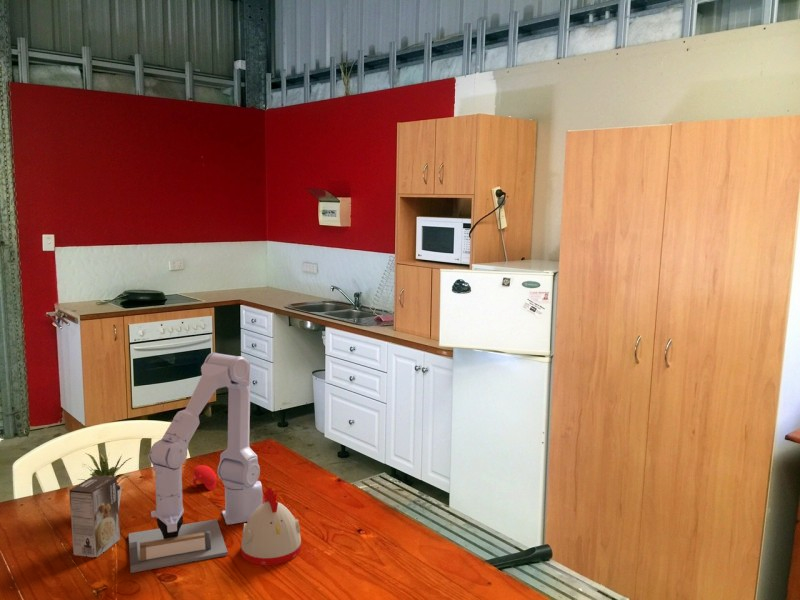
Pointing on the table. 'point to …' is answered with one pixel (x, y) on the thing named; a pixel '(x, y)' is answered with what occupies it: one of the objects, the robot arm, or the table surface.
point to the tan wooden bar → (172, 546)
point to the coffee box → (94, 515)
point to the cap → (205, 477)
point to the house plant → (107, 471)
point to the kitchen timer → (271, 533)
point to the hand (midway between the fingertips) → (170, 547)
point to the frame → (212, 549)
